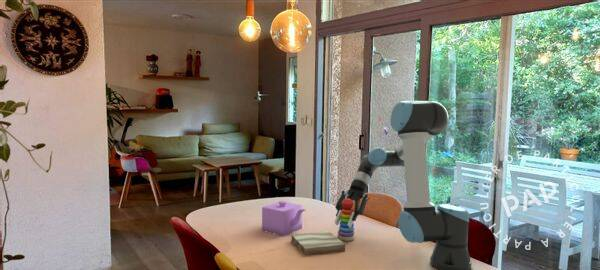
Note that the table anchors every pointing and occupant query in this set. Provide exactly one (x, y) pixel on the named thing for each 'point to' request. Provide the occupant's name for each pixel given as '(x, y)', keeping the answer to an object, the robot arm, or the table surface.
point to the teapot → (282, 218)
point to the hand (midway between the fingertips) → (342, 224)
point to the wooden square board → (318, 243)
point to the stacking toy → (346, 222)
